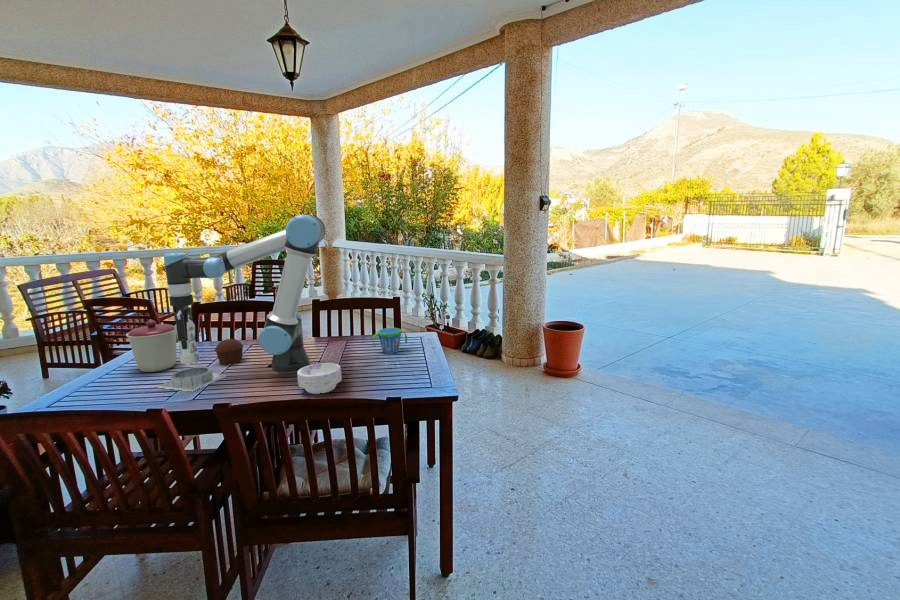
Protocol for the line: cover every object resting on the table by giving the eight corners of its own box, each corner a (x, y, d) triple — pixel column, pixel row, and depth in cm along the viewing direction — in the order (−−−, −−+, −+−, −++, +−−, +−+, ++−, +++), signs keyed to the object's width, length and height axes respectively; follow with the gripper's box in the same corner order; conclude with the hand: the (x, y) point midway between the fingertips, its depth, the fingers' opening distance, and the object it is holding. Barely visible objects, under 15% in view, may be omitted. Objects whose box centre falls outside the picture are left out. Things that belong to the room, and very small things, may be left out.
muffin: (219, 359, 198) (216, 337, 197) (246, 356, 202) (243, 335, 200) (214, 367, 187) (211, 345, 185) (242, 364, 191) (240, 342, 189)
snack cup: (373, 356, 197) (372, 334, 195) (373, 349, 207) (372, 328, 205) (408, 354, 199) (407, 332, 197) (406, 347, 210) (406, 326, 208)
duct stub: (225, 376, 176) (224, 367, 175) (192, 392, 161) (191, 381, 160) (193, 373, 181) (192, 364, 180) (158, 388, 166) (156, 378, 165)
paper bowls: (317, 379, 171) (315, 359, 169) (350, 384, 165) (349, 364, 163) (289, 394, 157) (287, 373, 155) (324, 400, 151) (322, 378, 150)
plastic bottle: (199, 365, 168) (192, 313, 164) (178, 367, 165) (171, 315, 162) (201, 360, 174) (194, 310, 170) (181, 362, 171) (174, 312, 167)
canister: (184, 369, 186) (177, 320, 182) (132, 379, 176) (123, 327, 172) (180, 358, 201) (174, 313, 197) (132, 367, 190) (124, 319, 186)
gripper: (176, 291, 172) (184, 348, 176) (161, 299, 154) (170, 363, 159) (197, 290, 174) (205, 346, 179) (185, 298, 157) (194, 360, 161)
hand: (189, 354), depth 169 cm, fingers closed on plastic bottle, 6 cm apart
